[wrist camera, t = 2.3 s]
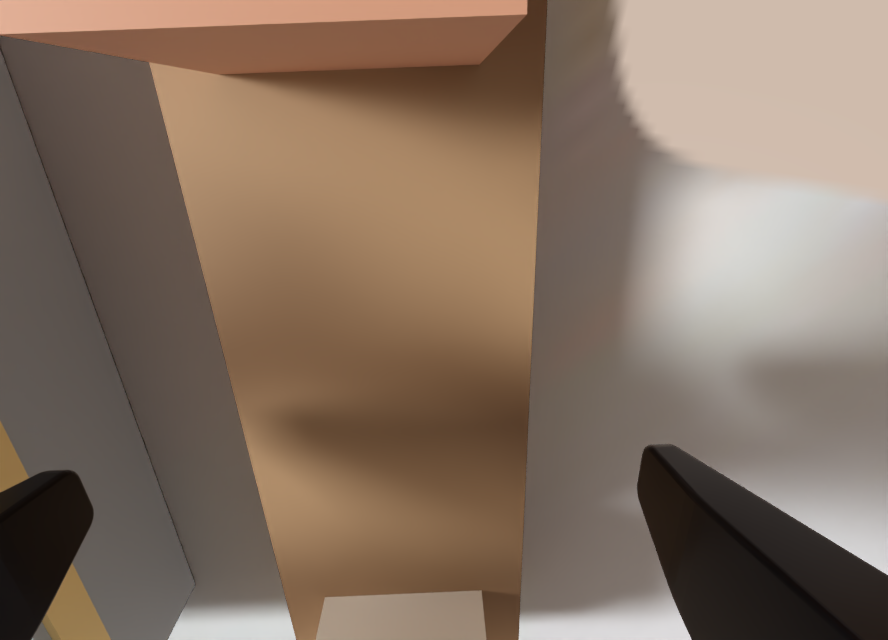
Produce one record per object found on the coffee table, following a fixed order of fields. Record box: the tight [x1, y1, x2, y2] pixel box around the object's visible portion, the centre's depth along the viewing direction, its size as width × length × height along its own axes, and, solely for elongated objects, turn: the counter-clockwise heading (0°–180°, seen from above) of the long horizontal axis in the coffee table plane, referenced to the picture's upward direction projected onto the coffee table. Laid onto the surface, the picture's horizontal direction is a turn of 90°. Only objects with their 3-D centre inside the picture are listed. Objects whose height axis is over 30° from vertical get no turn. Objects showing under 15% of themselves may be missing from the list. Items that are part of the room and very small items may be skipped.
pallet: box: [149, 0, 547, 640], centre depth 11 cm, size 23×6×4 cm, turn 2°
